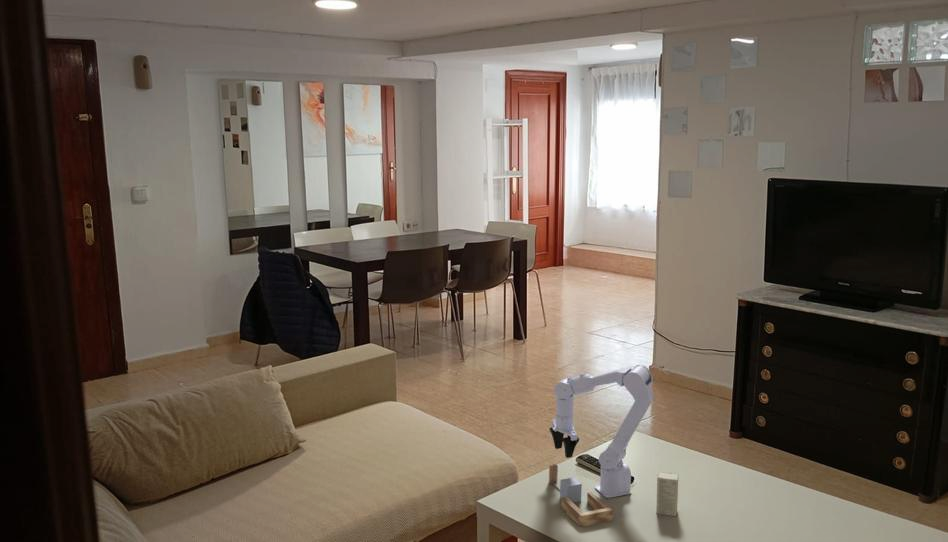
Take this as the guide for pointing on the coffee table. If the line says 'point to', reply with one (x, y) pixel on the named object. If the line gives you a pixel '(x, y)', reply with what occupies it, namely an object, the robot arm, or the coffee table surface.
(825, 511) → the coffee table surface
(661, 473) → the skincare box
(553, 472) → the block with pull
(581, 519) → the two-pronged wooden block
